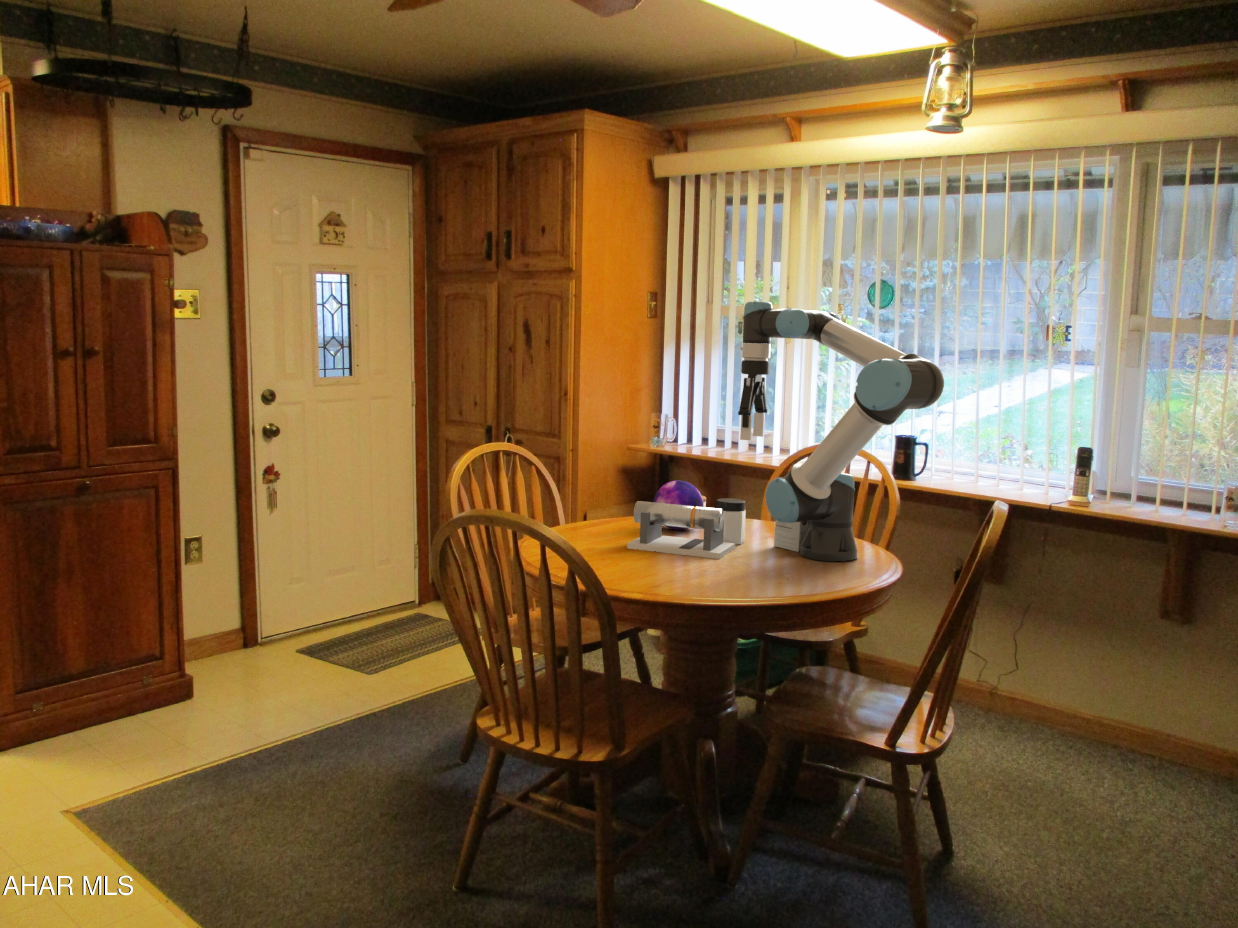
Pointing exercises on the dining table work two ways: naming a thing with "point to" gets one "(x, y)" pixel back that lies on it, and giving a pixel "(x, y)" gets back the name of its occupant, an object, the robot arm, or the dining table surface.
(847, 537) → the robot arm
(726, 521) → the jar
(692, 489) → the decorative orb
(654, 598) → the dining table surface
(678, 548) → the cradle stand
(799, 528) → the supplement box
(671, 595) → the dining table surface
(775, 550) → the dining table surface
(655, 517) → the steel tube
